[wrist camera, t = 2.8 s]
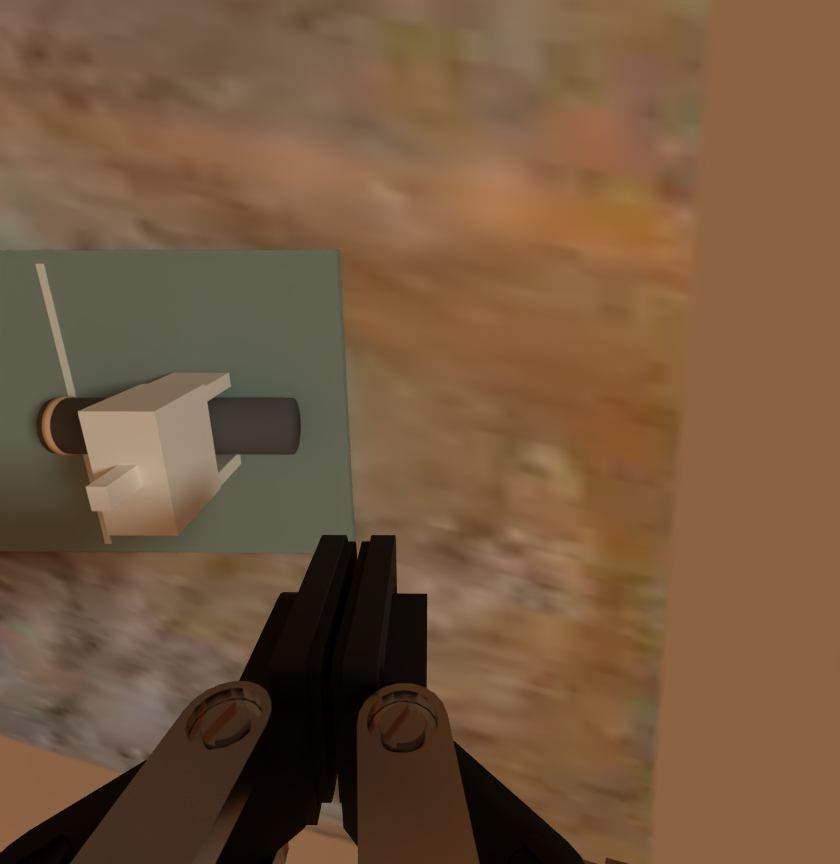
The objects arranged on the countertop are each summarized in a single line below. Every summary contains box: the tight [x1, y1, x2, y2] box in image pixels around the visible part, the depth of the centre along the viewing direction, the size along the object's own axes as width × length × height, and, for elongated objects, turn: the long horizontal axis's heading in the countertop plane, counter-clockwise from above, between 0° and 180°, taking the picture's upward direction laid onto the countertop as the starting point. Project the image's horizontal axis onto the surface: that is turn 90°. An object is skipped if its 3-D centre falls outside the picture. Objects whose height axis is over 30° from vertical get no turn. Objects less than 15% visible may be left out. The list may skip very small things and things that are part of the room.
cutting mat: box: [0, 250, 355, 553], centre depth 22 cm, size 14×20×1 cm
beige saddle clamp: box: [78, 373, 241, 536], centre depth 18 cm, size 4×2×8 cm, turn 0°
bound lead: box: [36, 396, 301, 455], centre depth 21 cm, size 2×10×2 cm, turn 90°
